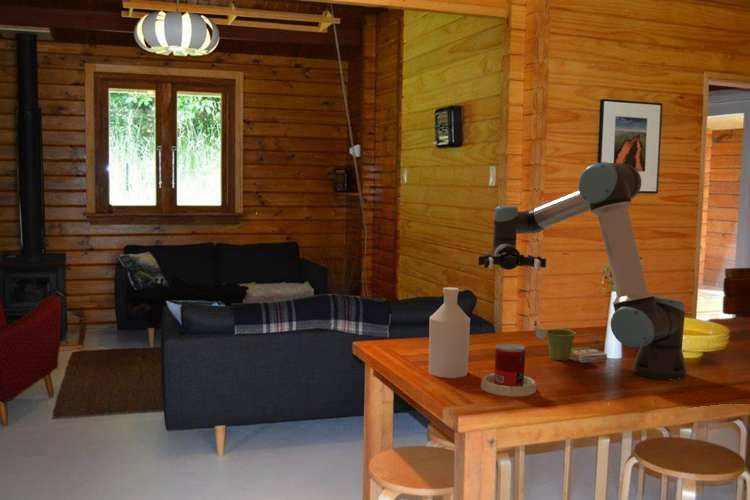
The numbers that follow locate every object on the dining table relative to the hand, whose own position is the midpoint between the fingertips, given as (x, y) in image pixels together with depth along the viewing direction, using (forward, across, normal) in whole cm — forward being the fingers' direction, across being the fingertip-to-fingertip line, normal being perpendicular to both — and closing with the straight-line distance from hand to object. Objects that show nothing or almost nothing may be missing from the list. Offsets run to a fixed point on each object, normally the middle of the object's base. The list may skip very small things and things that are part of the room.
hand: (515, 265), depth 227 cm
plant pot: (-19, -18, -32) cm, 42 cm away
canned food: (+18, +2, -31) cm, 36 cm away
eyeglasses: (-50, -26, -33) cm, 65 cm away
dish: (+18, +2, -32) cm, 37 cm away
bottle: (+4, +18, -32) cm, 37 cm away
